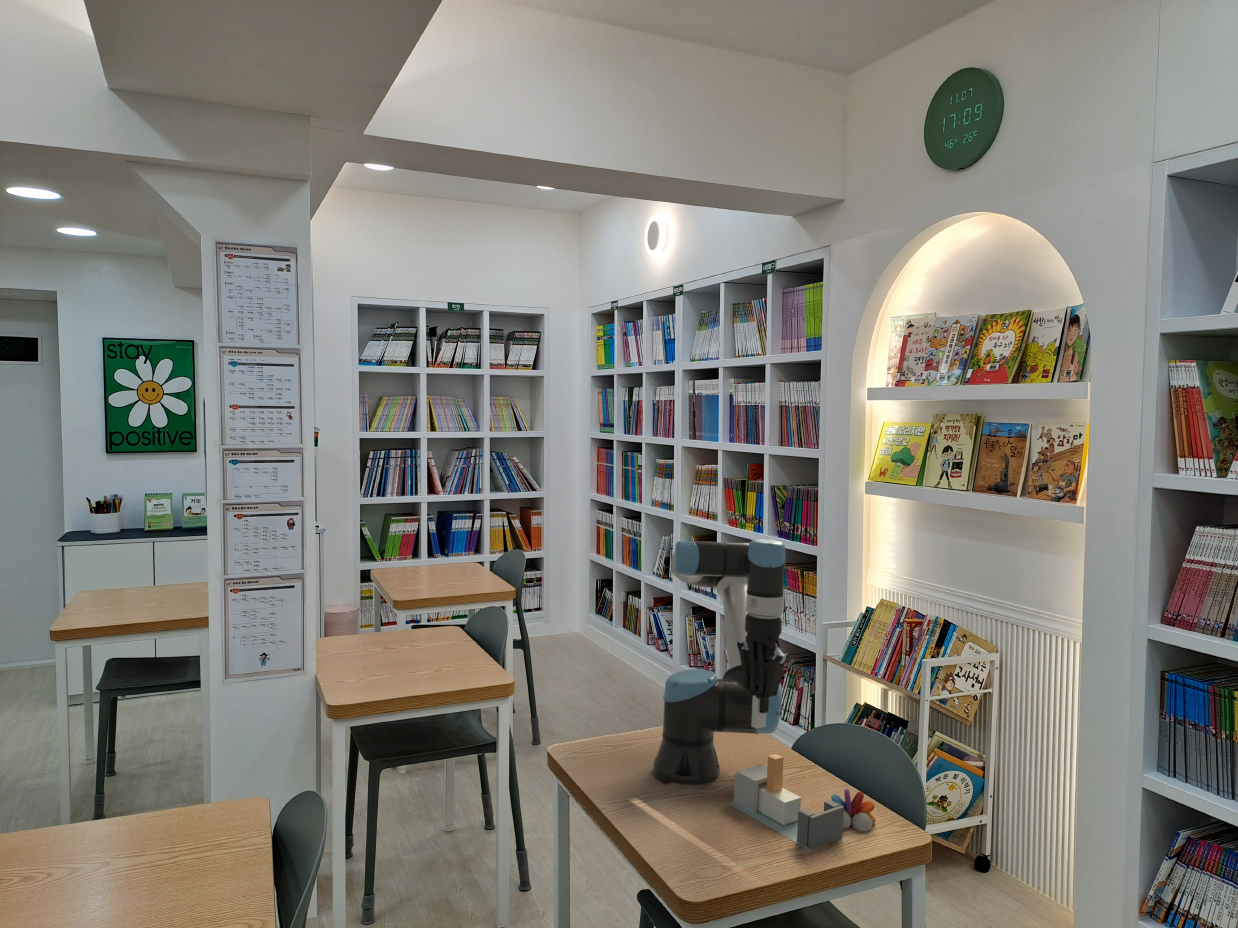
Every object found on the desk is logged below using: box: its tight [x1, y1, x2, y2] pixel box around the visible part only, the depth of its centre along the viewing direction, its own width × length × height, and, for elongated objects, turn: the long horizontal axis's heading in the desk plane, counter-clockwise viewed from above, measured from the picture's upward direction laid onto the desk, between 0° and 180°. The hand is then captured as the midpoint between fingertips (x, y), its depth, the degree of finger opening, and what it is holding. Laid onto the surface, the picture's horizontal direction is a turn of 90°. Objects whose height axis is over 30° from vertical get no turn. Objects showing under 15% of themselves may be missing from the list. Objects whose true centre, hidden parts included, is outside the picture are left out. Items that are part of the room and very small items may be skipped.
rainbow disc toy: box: [830, 788, 876, 832], centre depth 168 cm, size 8×10×7 cm
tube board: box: [728, 763, 845, 851], centre depth 167 cm, size 22×10×8 cm, turn 35°
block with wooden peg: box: [757, 753, 802, 825], centre depth 170 cm, size 12×5×12 cm, turn 35°
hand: (758, 726), depth 173 cm, fingers closed
